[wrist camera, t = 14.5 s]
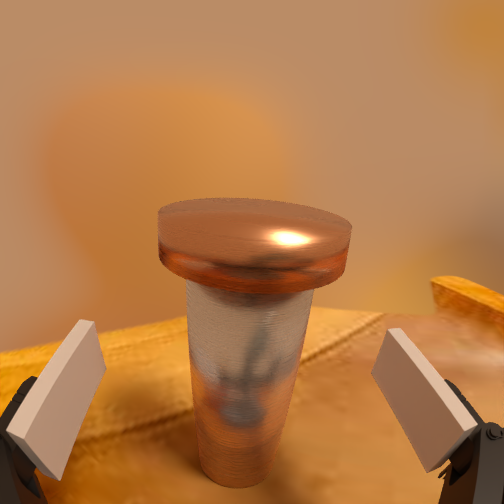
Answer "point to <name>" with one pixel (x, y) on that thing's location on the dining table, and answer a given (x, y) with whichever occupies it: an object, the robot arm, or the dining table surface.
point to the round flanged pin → (247, 317)
